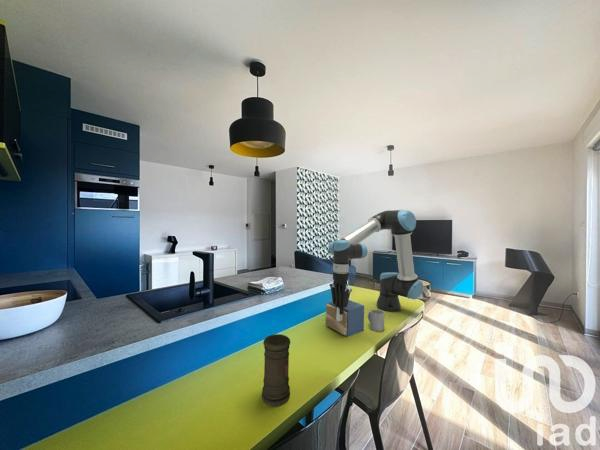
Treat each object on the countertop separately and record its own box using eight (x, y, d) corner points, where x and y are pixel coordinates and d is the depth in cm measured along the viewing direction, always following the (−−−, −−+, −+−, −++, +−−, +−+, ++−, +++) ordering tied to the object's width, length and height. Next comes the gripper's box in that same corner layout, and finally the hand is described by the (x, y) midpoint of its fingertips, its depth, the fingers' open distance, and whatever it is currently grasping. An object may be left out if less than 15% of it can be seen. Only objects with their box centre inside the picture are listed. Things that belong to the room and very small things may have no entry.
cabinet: (343, 321, 136) (344, 298, 136) (363, 330, 125) (364, 305, 125) (328, 326, 129) (328, 301, 129) (347, 336, 118) (348, 310, 118)
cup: (376, 332, 123) (377, 315, 123) (363, 325, 132) (363, 308, 131) (387, 330, 126) (387, 313, 126) (373, 322, 135) (373, 306, 135)
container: (266, 410, 71) (267, 349, 71) (258, 390, 79) (259, 336, 79) (294, 401, 75) (295, 344, 74) (284, 383, 83) (285, 331, 83)
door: (326, 323, 130) (327, 303, 129) (346, 334, 117) (347, 312, 117) (324, 324, 129) (325, 303, 129) (344, 335, 117) (345, 312, 117)
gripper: (325, 270, 121) (324, 317, 121) (345, 275, 110) (343, 327, 110) (336, 269, 125) (335, 314, 125) (356, 273, 114) (354, 323, 115)
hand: (339, 320), depth 118 cm, fingers closed
